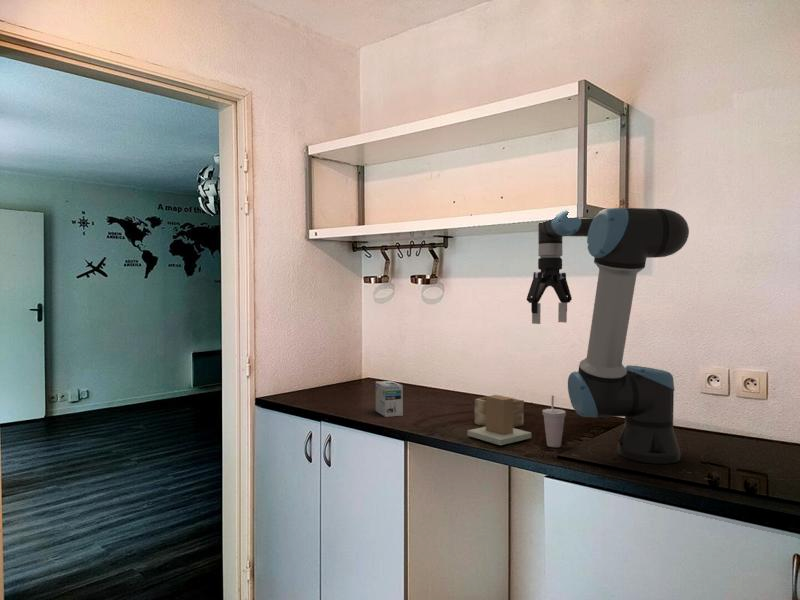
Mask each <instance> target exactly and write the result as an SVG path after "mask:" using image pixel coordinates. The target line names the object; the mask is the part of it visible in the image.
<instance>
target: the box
mask: <svg viewBox="0 0 800 600" xmlns="http://www.w3.org/2000/svg"><path fill="white" fill-rule="evenodd" d="M498 395H499V394H498ZM499 396H501V395H499ZM502 396H503V395H502ZM503 397H506V396H503ZM507 397H508V398H511V397H509V396H507ZM512 398H513V428H516V427H521V426H524V417H525V416H524V414H525V413H524V410H525V409H524V407H525V406H524V402H525V401H524V399H520V398H519V399H518V398H515V397H512ZM474 425H479V426H482V427H486V396H483V397H479V398H474Z"/></svg>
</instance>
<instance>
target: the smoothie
mask: <svg viewBox="0 0 800 600" xmlns="http://www.w3.org/2000/svg"><path fill="white" fill-rule="evenodd" d="M554 398H555V397H554V395H551V408H545V409H542V413H541V414H542V415H543V422H544V430H545V431H544V433H545V438H546V439H545V440H546V446H547V447H550V448H560V447H561V446H562V441H563V440H562V438H563V432H564V424H565V417H566V416H567V412H566V411H565V410H564V409H558V408H554V405H555V403H554V402H555V401H554Z"/></svg>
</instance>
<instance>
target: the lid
mask: <svg viewBox="0 0 800 600" xmlns="http://www.w3.org/2000/svg"><path fill="white" fill-rule="evenodd" d="M485 397H486V426H482V427H476V428H473V429H468V430H467V436H468V437H472V438H475V439H477V438H478V439H477V440H480V439H481V441H483V442H487V441H488V443H491V444H495V445H497V444H498V446H503V445H508V444H512V443H516V442H520V441H524V440H528V439H532V432H530V431H526V430H523V429H518V428H516V427H513V398H514V397H510V398H508V397H509V396H505V397H503V395H500V396H499V394H493V395H492V394H491V395H486V396H485Z"/></svg>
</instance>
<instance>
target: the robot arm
mask: <svg viewBox="0 0 800 600" xmlns="http://www.w3.org/2000/svg"><path fill="white" fill-rule="evenodd" d="M564 210H565V211H562V212H560V213H559V214H557V215H556V217H555V218H554V219H552V220H549V221H546V222H543V223H539V224H538V223H537V224H538V243H537V245H538V253H537V254H538V257H539V258H538V259H537V261H538V262H537V268H538V270H540V271H534V272H533V277H532V281H531V285H530V287H529V290H528V292H527V296H526V301H527V302H528V304H531V306H530V307H531V324H534V325H535V324H536V325H541V303H540V300H541V299H542V296H543V295H544V292H546V290H547V288H548V287H551V288H553V290H554V292H555V294H556V295H557V298H558V300H559V301H560V302H558V309H557V310H558V316H557V317H558V318H557V319H558V320H557V321H558V323H567V320H568V318H567V316H568V314H567V313H568V303H571V301H572V300H573V299H572V294H571V292H570V287H569V285H568V281H567V273H566V272H560V270H562V269H563V258H562V257H563V238H564V237H586V238H587V239H586V242H587V251H588V254H590V256H591V257H593V262H594V264H595V265H596V267H597V268H598V269H599V270H598V277H597V282H596V291H595V297H594V298H595V299H594V304H593V305H594V306H593V311H592V312H593V313H592V319H591V324H590V331H589V337H588V338H589V340H588V344H587V352H586V358H584V359H582V360H581V361H579V365H578V370H577V371H573V372H570V374H569V375H568V378H567V391H568V396H569V397H568V398H569V401H570V404H571V406H572V408H573V410H574V411H575V412H576V413H577V415H579V416H580V417H583V418H594V419H598V418H617V417H619V418H620V417H623V418H624V426H623V428H622V431H621V434H620V437H619V439H618V442H617V454H618V455H619V456H621V457H623V458H625V459H627V460H631V461H636V462H638V463H639V462H640V463H645V464H646V463H647V464H658V465H659V464H660V465H665V464H673V463H678V462H680V461H681V449H680V445H679V443H678V439H677V436H676V434H675V430H674V403H675V402H674V397H675V396H674V395H675V393H674V392H675V384H674V383H675V382H674V376H673V374H672V373H671V372H669V371H666V370H663V369H660V368H659V369H657V368H655V367H654V368H653V367H652V368H651V367H647V366H640V365H631V364H630V365H626V366H624V364H623V360H624V353H625V348H626V341H627V336H628V329H629V323H630V317H631V311H632V305H633V297H634V294H635V293H634V292H635V286H636V281H637V275H638V273H640V272H641V271H643V270H644V269H645V268H646V261H647V258H649V259H650V258H665V257H669V256H671V255H674V254H676V253H678V252H679V251H681V249H683V247H684V246H685V245H686V243H687V241H688V239H689V235H690V228H689V225H688V222H687V220H686V219H685V218H684V216H682V215H681V214H680V213H678V212H676V211H673V210H671V209H666V208H644V207H643V208H642V207H641V208H640V207H621V206H620V207H612V208H611V207H610V208H609V207H608V208H604V209H602V210H600V211H598V212H599V213H598V214H597V215H596V216H595V217H594V219H579V218H568V217H567V215H568V213H569V212H568V211H567V210H568V209H564Z"/></svg>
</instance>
